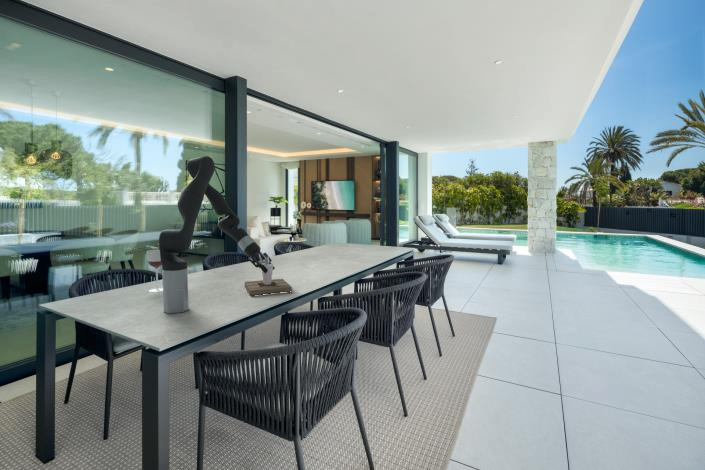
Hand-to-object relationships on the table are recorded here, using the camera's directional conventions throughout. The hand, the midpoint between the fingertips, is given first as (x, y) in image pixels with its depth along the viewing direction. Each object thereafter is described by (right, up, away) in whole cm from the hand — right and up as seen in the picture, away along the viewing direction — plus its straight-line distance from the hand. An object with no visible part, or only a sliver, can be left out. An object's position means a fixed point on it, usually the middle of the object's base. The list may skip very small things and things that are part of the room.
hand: (270, 270), depth 180 cm
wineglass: (-56, -10, -1) cm, 57 cm away
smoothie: (-2, -7, +1) cm, 7 cm away
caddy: (-2, -10, +1) cm, 10 cm away
